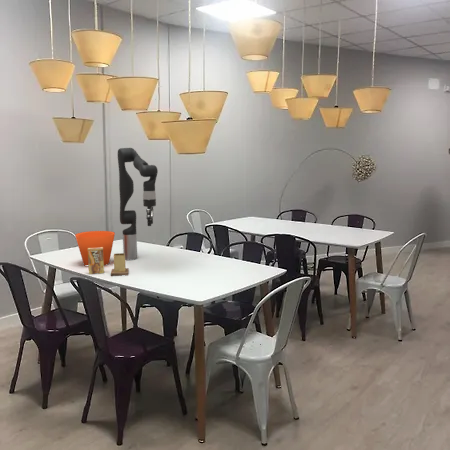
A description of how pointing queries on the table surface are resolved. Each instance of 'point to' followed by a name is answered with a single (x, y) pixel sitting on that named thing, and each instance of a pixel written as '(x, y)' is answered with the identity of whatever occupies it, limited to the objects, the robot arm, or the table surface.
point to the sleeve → (119, 262)
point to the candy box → (95, 260)
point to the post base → (119, 272)
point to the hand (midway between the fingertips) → (150, 224)
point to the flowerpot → (95, 243)
